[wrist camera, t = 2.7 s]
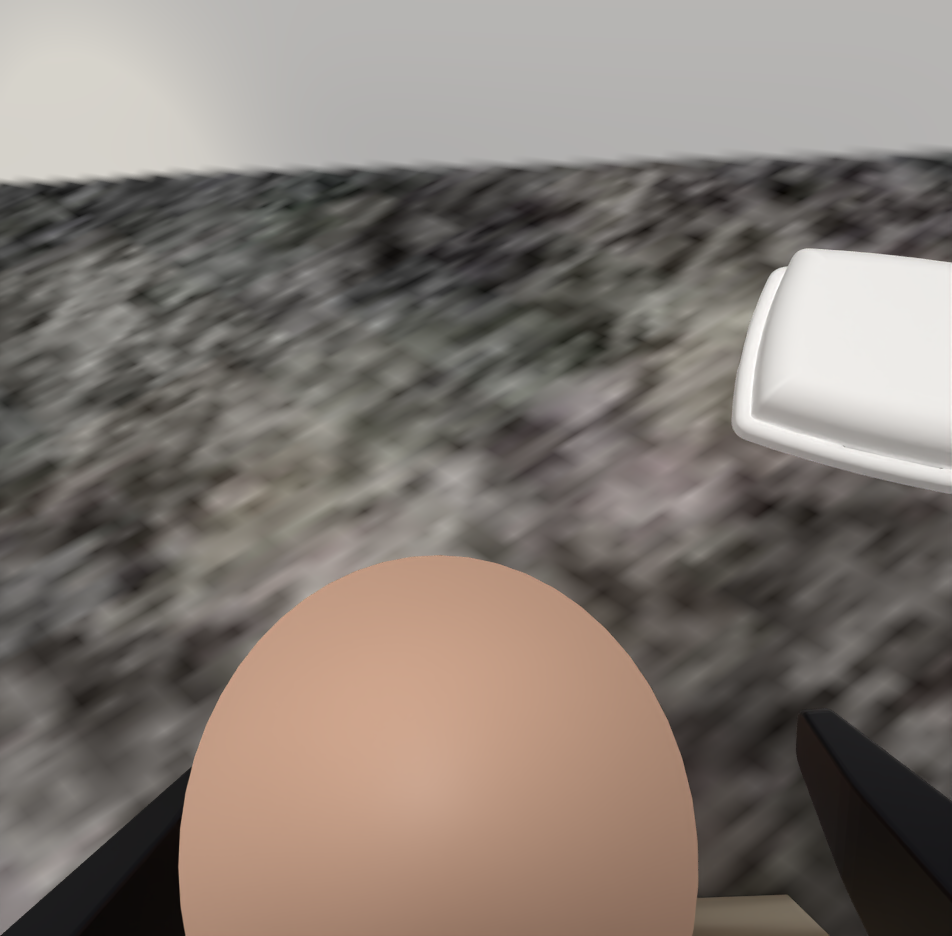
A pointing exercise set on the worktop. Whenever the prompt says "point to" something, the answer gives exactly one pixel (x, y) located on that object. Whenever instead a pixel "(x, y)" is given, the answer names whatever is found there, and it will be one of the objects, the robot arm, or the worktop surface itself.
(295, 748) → the dowel
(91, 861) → the robot arm
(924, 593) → the worktop surface
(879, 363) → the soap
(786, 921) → the socket block
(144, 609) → the worktop surface
